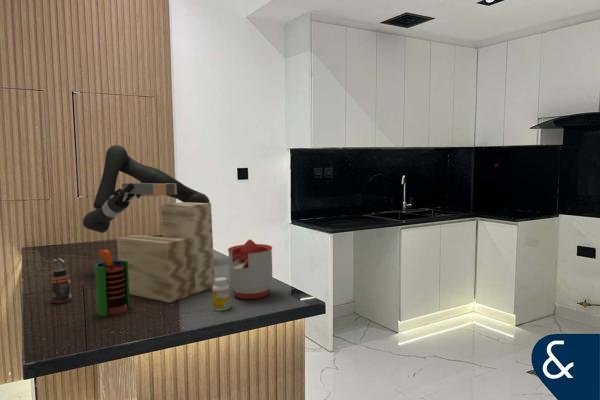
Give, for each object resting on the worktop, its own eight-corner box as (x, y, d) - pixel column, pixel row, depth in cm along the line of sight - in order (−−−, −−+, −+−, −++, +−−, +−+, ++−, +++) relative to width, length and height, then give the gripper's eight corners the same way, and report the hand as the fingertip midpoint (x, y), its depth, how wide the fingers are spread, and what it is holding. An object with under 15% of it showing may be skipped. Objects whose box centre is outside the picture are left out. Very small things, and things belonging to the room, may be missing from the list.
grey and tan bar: (133, 192, 182) (132, 182, 182) (176, 194, 168) (176, 183, 168) (120, 193, 177) (119, 183, 177) (164, 195, 163) (163, 184, 163)
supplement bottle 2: (214, 305, 147) (212, 277, 146) (230, 305, 148) (229, 276, 147) (212, 311, 142) (211, 281, 141) (229, 310, 142) (228, 280, 141)
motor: (115, 317, 139) (111, 254, 137) (90, 315, 141) (85, 253, 139) (133, 306, 149) (130, 247, 147) (110, 305, 151) (106, 247, 149)
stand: (166, 278, 185) (162, 201, 182) (214, 286, 170) (210, 203, 168) (120, 292, 166) (114, 207, 164) (169, 302, 152) (164, 209, 149)
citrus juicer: (218, 301, 152) (215, 243, 150) (243, 287, 168) (241, 235, 166) (259, 305, 146) (256, 245, 144) (281, 290, 162) (279, 236, 161)
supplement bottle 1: (75, 299, 159) (73, 268, 158) (61, 304, 153) (59, 272, 152) (62, 298, 161) (60, 267, 160) (48, 303, 155) (46, 271, 154)
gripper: (96, 198, 179) (118, 177, 170) (127, 195, 191) (148, 175, 182) (103, 215, 178) (125, 194, 169) (133, 211, 190) (155, 191, 181)
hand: (137, 185), depth 176 cm, fingers closed on grey and tan bar, 4 cm apart
